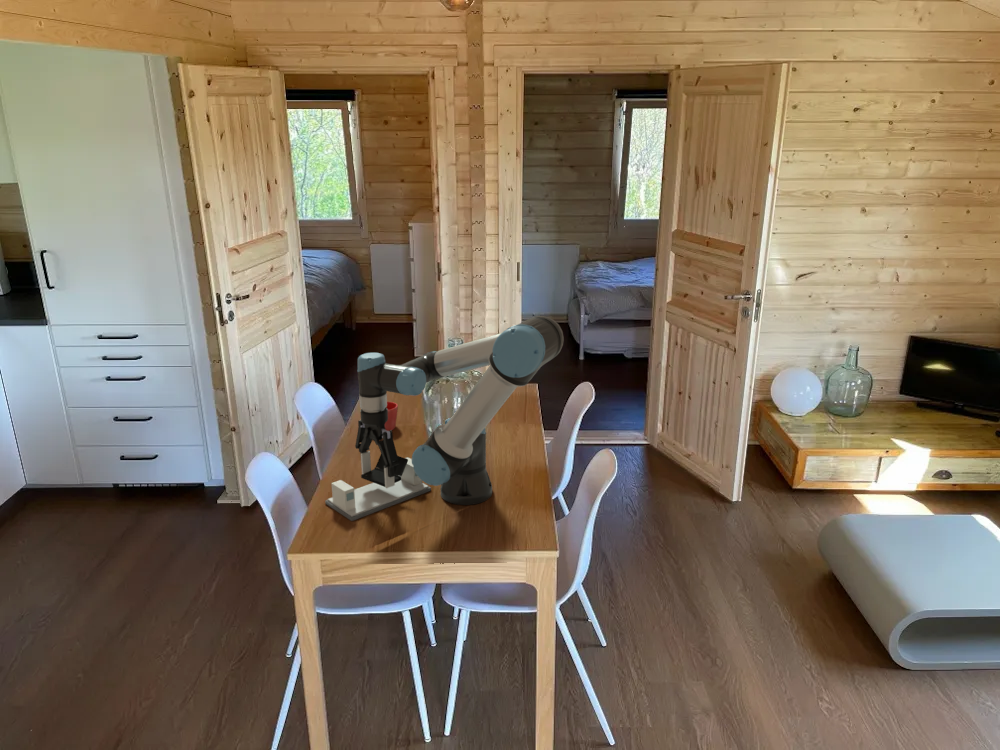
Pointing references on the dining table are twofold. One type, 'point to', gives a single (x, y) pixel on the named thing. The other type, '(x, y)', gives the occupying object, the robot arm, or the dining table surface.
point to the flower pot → (391, 416)
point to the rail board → (375, 495)
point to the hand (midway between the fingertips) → (378, 479)
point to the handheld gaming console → (378, 471)
